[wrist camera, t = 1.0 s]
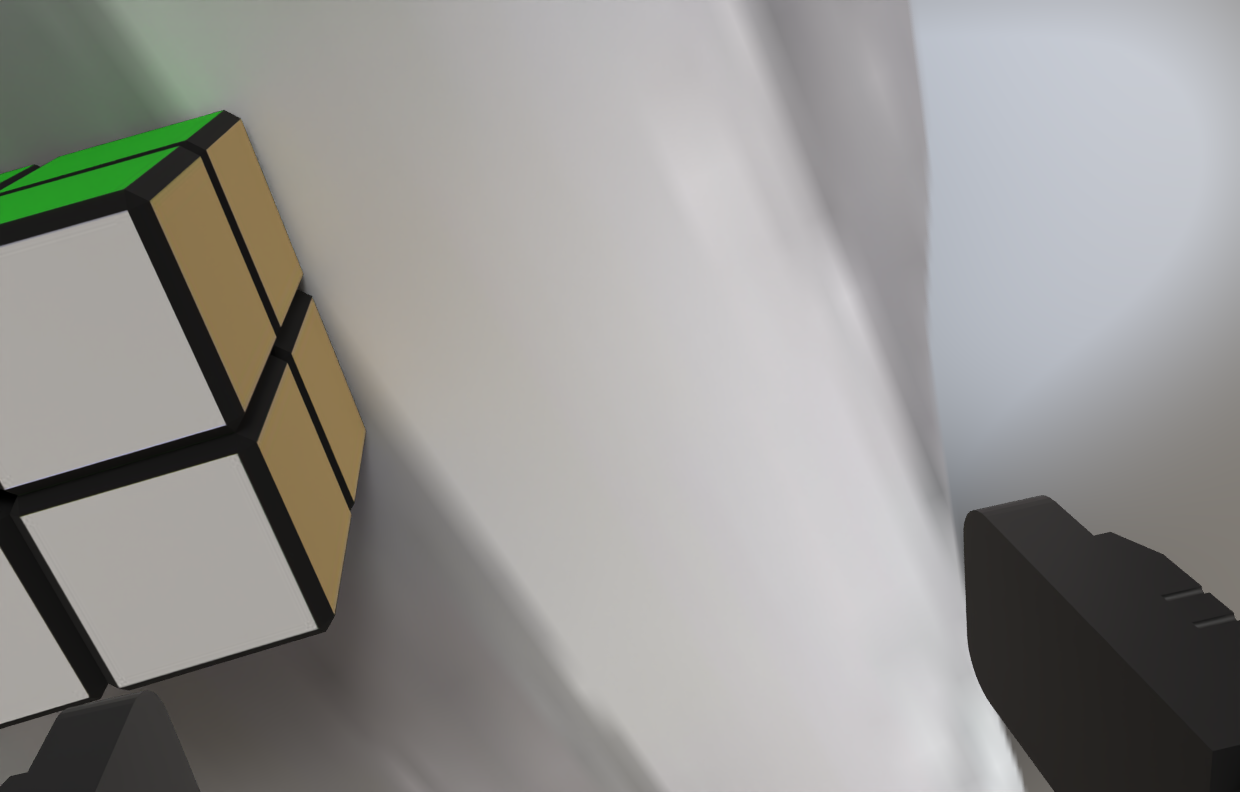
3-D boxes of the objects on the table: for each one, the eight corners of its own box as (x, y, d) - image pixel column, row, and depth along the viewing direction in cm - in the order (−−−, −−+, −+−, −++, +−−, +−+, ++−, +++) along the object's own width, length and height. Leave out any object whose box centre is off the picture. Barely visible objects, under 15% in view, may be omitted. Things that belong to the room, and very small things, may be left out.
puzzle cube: (44, 532, 31) (-121, 775, 22) (-141, 212, 27) (-437, 348, 18) (371, 436, 32) (340, 635, 22) (239, 104, 27) (135, 185, 18)
